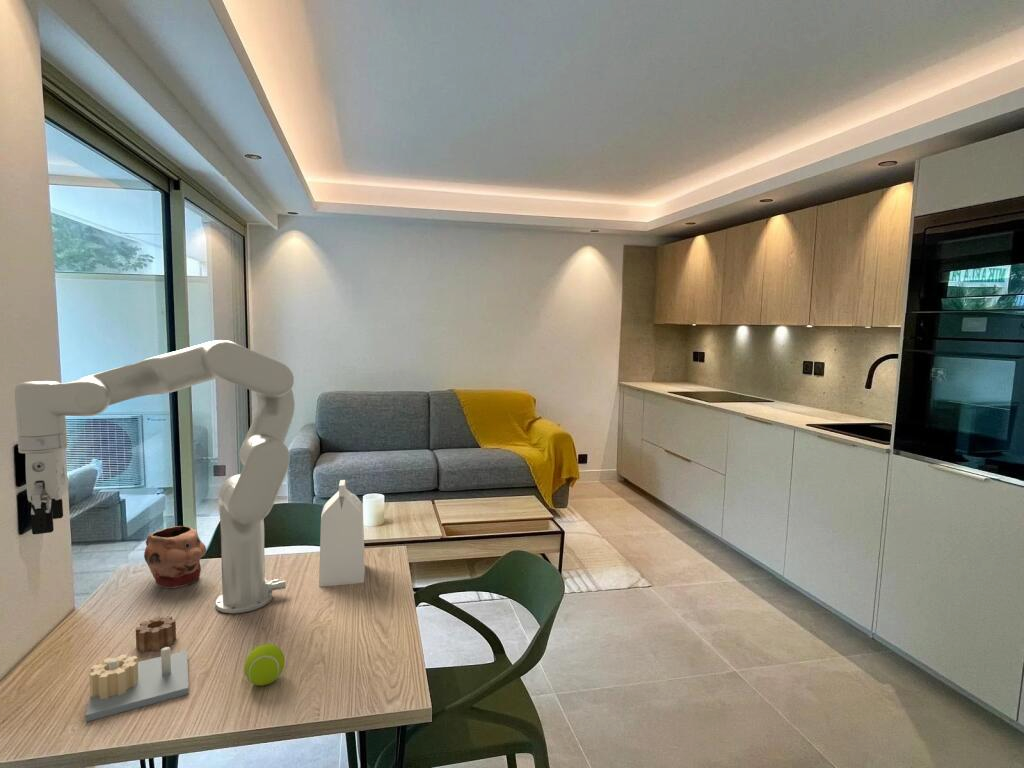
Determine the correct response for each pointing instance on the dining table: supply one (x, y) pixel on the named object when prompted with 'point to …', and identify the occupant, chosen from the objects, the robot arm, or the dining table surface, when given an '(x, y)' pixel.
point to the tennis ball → (264, 664)
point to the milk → (342, 540)
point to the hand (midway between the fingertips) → (48, 525)
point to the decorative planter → (174, 556)
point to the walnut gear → (155, 633)
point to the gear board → (136, 682)
